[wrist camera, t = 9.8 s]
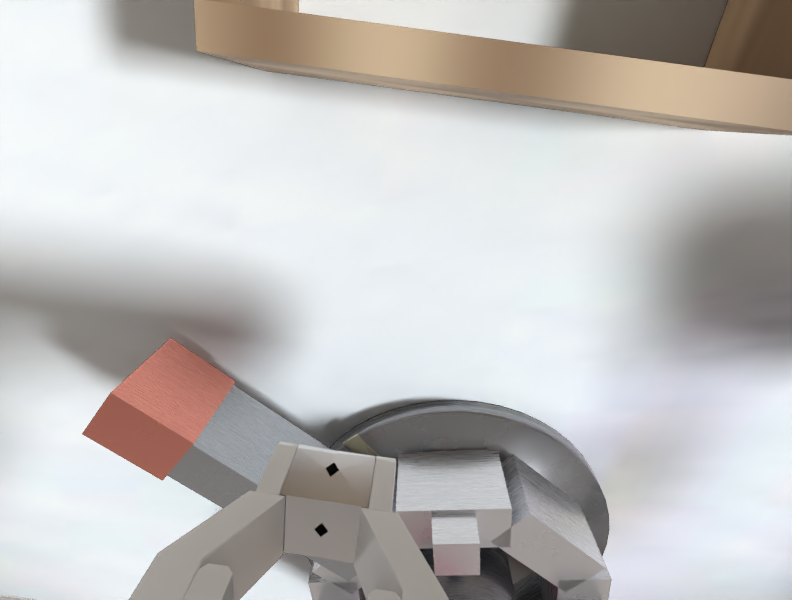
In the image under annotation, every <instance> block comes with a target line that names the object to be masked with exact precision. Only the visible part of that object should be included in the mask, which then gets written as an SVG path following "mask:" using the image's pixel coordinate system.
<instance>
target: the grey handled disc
mask: <svg viewBox="0 0 792 600" xmlns="http://www.w3.org/2000/svg"><path fill="white" fill-rule="evenodd" d="M235 382H236V381H234V380H233V379H231V378H230V377H228V376H227V375H225V374H224V373H222V372H221V371H219V370H218V369H216V368H215V367H213V366H212V365H210V364H209V363H208V362H206V361H205V360H203V359H202V358H200V357H199V356H197V355H196V354H194V353H193V352H191V351H190V350H188V349H187V348H185V347H184V346H182V345H181V344H179V343H178V342H176V341H175V340H173V339H172V338H170V339H169V340H168V341H167V342H166V343H165V344H163V345H162V346H161V347H160V348H159V349H158V350H157V351H156V352H155V353H154V354H153V355H151V356H150V357H149V358H148V359H147V360H146V361H145V362H144V363H143V364H142V365H140V366H139V367H138V368H137V369H136V370H135V371H134V372H133V373H132V374H131V375H130V376H128V377H127V378H126V379H125V380H124V381H123V382H122V383H121V384H120V385H119V386H117V387H116V388H115V389H114V390H113V391H112V392H111V393H110V394H109V396H108V397H107V399H106V400H105V402H104V403H103V404H102V406H101V407H100V409H99V410H98V412H97V413H96V415H95V416H94V417H93V419H92V420H91V422H90V423H89V425H88V426H87V428H86V429H85V430H84V432H83V433H82V434H83V435H85V436H86V437H88V438H90V439H92V440H93V441H95V442H97V443H99V444H100V445H102V446H104V447H105V448H107V449H109V450H111V451H112V452H114V453H116V454H117V455H119V456H121V457H123V458H124V459H126V460H128V461H130V462H131V463H133V464H135V465H136V466H138V467H140V468H142V469H143V470H145V471H147V472H149V473H150V474H152V475H154V476H155V477H157V478H159V479H161V480H163V479H164V478H165V477H166V476H169V477H171V478H172V479H174V480H176V481H178V482H179V483H181V484H183V485H184V486H186V487H188V488H190V489H191V490H193V491H195V492H196V493H198V494H200V495H202V496H203V497H205V498H207V499H208V500H210V501H212V502H213V503H215V504H217V505H219V506H220V507H222V508H225V507H226V506H228V505H229V504H231V503H232V502H234V501H235V500H236V499H238V498H239V497H241V496H242V495H244V494H245V493H247V492H248V491H256V489H257V487H258V485H259V483H260V480H261V478H262V476H263V474H264V472H265V470H266V467H267V465H268V463H269V461H270V459H271V456H272V454H273V452H274V450H275V448H276V446H277V444H278V443H279V442H280V441H282V442H287V443H293V444H298V445H300V444H301V445H307V446H313V447H318V448H324V449H330V448H328V447H327V446H325V445H323V444H322V443H320V442H319V441H317V440H316V439H314V438H313V437H311V436H310V435H308V434H307V433H305V432H304V431H302V430H301V429H299V428H298V427H296V426H295V425H293V424H292V423H290V422H289V421H287V420H286V419H284V418H283V417H281V416H280V415H278V414H277V413H275V412H274V411H272V410H271V409H269V408H268V407H266V406H265V405H263V404H262V403H260V402H259V401H257V400H256V399H254V398H253V397H251V396H250V395H248V394H247V393H245V392H244V391H242V390H241V389H239V388H238V387H236V386H235V385H234V383H235ZM330 450H331V449H330ZM373 474H374V473H373ZM372 481H373V480H372ZM371 488H372V487H371ZM392 512H394V513H398V514H399V516H400V518H401V519H402V521H403V523H404V524H405V526H406V528H407V529H408V531H409V533H410V534H411V536H412V538H413V539H414V541H415V543H416V544H417V546H418V548H419V549H427V548H433V557H434V572H435V576H447V575H480V548H488V547H499V548H500V549H502V550H503V551H505V552H506V553H508V554H509V555H511V556H512V557H514V558H515V559H517V560H518V561H520V562H521V563H523V564H524V565H526V566H527V567H529V568H530V569H531V570H533V572H532V573H530V574H529V575H527V576H525V577H524V578H522V579H521V580H519V581H518V582H516V583H515V584H513V587H514V592H515V597H516V600H608V597H609V591H610V585H611V577H610V575H609V572H608V570H607V567H606V565H605V563H604V560H603V558H602V555H601V553H600V551H599V548H598V546H597V544H596V541H595V539H594V536H593V534H592V532H591V529H590V527H589V524H588V522H587V520H586V517H585V515H584V514H583V512H582V509H581V507H580V505H579V503H578V502H576V501H575V500H574V499H572V498H571V497H570V496H569V495H567V494H566V493H565V492H563V491H562V490H561V489H559V488H558V487H557V486H555V485H554V484H553V483H551V482H550V481H549V480H547V479H546V478H545V477H543V476H542V475H541V474H539V473H538V472H537V471H535V470H534V469H533V468H531V467H530V466H529V465H527V464H526V463H525V462H523V461H522V460H521V459H519V458H518V457H517V456H515V455H514V454H512V455H511V456H510V457H508V458H507V459H506V460H505V461H503V462H502V463H501V462H500V457H499V453H498V449H490V450H459V451H429V452H399V458H398V467H397V466H396V472H395V484H394V495H393V507H392ZM304 556H306V555H304ZM306 557H308V558H309V559H311V560H313V565H312V569H311V574H310V578H309V582H308V583H309V587H310V591H311V595H312V600H366V598H365V595H364V592H363V589H362V587H361V584H360V581H359V578H358V576H357V573H356V570H355V568H354V564H353V563H348V562H343V561H337V560H332V559H326V558H321V557H314V556H306Z"/></svg>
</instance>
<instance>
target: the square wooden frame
mask: <svg viewBox="0 0 792 600" xmlns="http://www.w3.org/2000/svg"><path fill="white" fill-rule="evenodd" d="M298 11H299V0H194V14H195V32H196V51H198V52H201V53H205V54H209V55H212V56H216V57H219V58H223V59H226V60H230V61H233V62H237V63H240V64H244V65H247V66H251V67H254V68H258V69H261V70H265V71H270V72H277V73H285V74H292V75H300V76H307V77H315V78H322V79H330V80H337V81H345V82H352V83H359V84H367V85H374V86H382V87H389V88H397V89H404V90H412V91H419V92H427V93H434V94H442V95H449V96H456V97H464V98H471V99H479V100H486V101H494V102H501V103H509V104H516V105H524V106H531V107H539V108H546V109H554V110H561V111H568V112H576V113H583V114H591V115H598V116H606V117H613V118H621V119H628V120H636V121H643V122H651V123H658V124H665V125H673V126H680V127H688V128H695V129H703V130H710V131H725V132H742V133H760V134H777V135H792V0H728V2H727V5H726V8H725V11H724V14H723V16H722V19H721V22H720V25H719V27H718V30H717V33H716V36H715V38H714V41H713V44H712V47H711V50H710V52H709V55H708V58H707V61H706V63H705V66H704V67H696V66H689V65H681V64H674V63H667V62H659V61H652V60H645V59H637V58H630V57H622V56H615V55H608V54H600V53H593V52H585V51H578V50H571V49H563V48H556V47H548V46H541V45H534V44H526V43H519V42H511V41H504V40H497V39H489V38H482V37H474V36H467V35H460V34H452V33H445V32H437V31H430V30H423V29H415V28H408V27H401V26H393V25H386V24H378V23H371V22H364V21H356V20H349V19H341V18H334V17H327V16H319V15H312V14H304V13H298Z"/></svg>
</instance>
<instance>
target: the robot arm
mask: <svg viewBox="0 0 792 600" xmlns="http://www.w3.org/2000/svg"><path fill="white" fill-rule="evenodd" d="M375 459H376V460H375ZM395 472H396V459H395V458H388V457H380V456H372V455H365V454H358V453H350V452H343V451H335V450H330V449H324V448H318V447H313V446H307V445H301V444H300V445H298V444H293V443H287V442H282V441H280V442H279V443H278V444H277V446H276V448H275V450H274V452H273V454H272V456H271V459H270V461H269V463H268V465H267V467H266V470H265V472H264V474H263V476H262V478H261V480H260V483H259V485H258V487H257V489H256V491H248V492H247V493H245V494H244V495H242V496H241V497H239V498H238V499H236V500H235V501H234V502H232V503H231V504H229V505H228V506H226V507H225V508H223V509H222V510H220V511H219V512H217V513H216V514H214V515H213V516H212V517H210V518H209V519H207V520H206V521H204V522H203V523H201V524H200V525H198V526H197V527H195V528H194V529H192V530H191V531H190V532H188V533H187V534H185V535H184V536H182V537H181V538H179V539H178V540H176V541H175V542H173V543H172V544H170V545H169V546H168V547H166V548H165V549H163V550H162V551H160V552H159V553H157V555H156V557H155V558H154V560H153V562H152V563H151V565H150V566H149V568H148V570H147V571H146V573H145V574H144V576H143V578H142V579H141V581H140V582H139V584H138V586H137V587H136V589H135V590H134V592H133V594H132V595H131V597H130V598H129V600H240V599H241V598H242V597H243V595H244V594H245V593H246V592H247V591H248V590H249V589H250V588H251V587H252V586H253V585H254V584H255V583H256V582H257V581H258V580H259V579H260V578H261V577H262V576H263V575H264V574H265V573H266V572H267V571H268V570H269V569H270V568H271V567H272V566H273V565H274V564H275V563H276V562H277V561H278V560H279V559H280V558H281V557H282V555H283V553H289V554H297V555H306V556H314V557H321V558H326V559H332V560H337V561H343V562H348V563H353V564H354V568H355V570H356V573H357V576H358V578H359V581H360V584H361V587H362V589H363V592H364V595H365V598H366V600H449V598H448V597H447V595H446V593H445V592H444V590H443V588H442V587H441V585H440V583H439V581H438V580H437V578H436V576H435V575H434V573H433V571H432V570H431V568H430V566H429V565H428V563H427V561H426V560H425V558H424V556H423V555H422V553H421V551H420V550H419V548H418V546H417V544H416V543H415V541H414V539H413V538H412V536H411V534H410V533H409V531H408V529H407V528H406V526H405V524H404V523H403V521H402V519H401V518H400V516H399V514H398V513H394V512H392V507H393V495H394V484H395ZM373 473H374V474H373ZM372 480H373V481H372ZM371 487H372V488H371ZM0 600H34V599H28V598H21V597H15V596H8V595H2V594H0Z"/></svg>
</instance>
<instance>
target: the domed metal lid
mask: <svg viewBox="0 0 792 600" xmlns="http://www.w3.org/2000/svg"><path fill="white" fill-rule="evenodd" d="M330 449H331V450H335V451H343V452H350V453H358V454H365V455H372V456H380V457H388V458H395V459H396V466H397V467H398V458H399V452H429V451H459V450H490V449H498V453H499V457H500V462H501V463H502V462H503V461H505V460H506V459H507V458H508V457H510V456H511V455H512V454H514V455H515V456H517V457H518V458H519V459H521V460H522V461H523V462H525V463H526V464H527V465H529V466H530V467H531V468H533V469H534V470H535V471H537V472H538V473H539V474H541V475H542V476H543V477H545V478H546V479H547V480H549V481H550V482H551V483H553V484H554V485H555V486H557V487H558V488H559V489H561V490H562V491H563V492H565V493H566V494H567V495H569V496H570V497H571V498H572V499H574V500H575V501H576V502H578V503H579V505H580V507H581V509H582V512H583V514H584V515H585V517H586V520H587V522H588V524H589V527H590V529H591V532H592V534H593V536H594V539H595V541H596V544H597V546H598V548H599V551H600V553H601V555H602V556H603V553H604V550H605V547H606V545H607V540H608V534H609V513H608V509H607V504H606V500H605V497H604V495H603V493H602V490H601V488H600V486H599V484H598V482H597V480H596V478H595V476H594V473H593V471H592V469H591V468H590V466H589V465H588V463H587V462H586V460H585V459H584V457H583V455H582V454H581V453H580V452H579V451H578V450H577V449H576V448H575V447H574V446H573V444H572V443H571V442H570V441H568V440H567V439H566V438H565V437H563V436H562V435H561V434H560V433H558V432H557V431H556V430H554V429H553V428H551V427H549V426H548V425H546V424H544V423H543V422H541V421H539V420H537V419H535V418H533V417H530V416H528V415H526V414H523V413H521V412H518V411H515V410H512V409H508V408H505V407H502V406H497V405H492V404H486V403H481V402H471V401H457V400H456V401H433V402H426V403H419V404H412V405H409V406H405V407H401V408H397V409H393V410H390V411H388V412H385V413H383V414H380V415H377V416H375V417H372V418H371V419H369V420H367V421H365V422H363V423H361V424H359V425H357V426H356V427H354V428H353V429H352V430H350V431H349V432H347V433H346V434H345V435H343V436H342V437H341V438H339V439H338V440H337V441H336V442H335V443H334V444H333V445H332V446H331V447H330ZM375 460H376V459H375ZM419 550H420V551H421V553H422V555H423V556H424V558H425V560H426V561H427V563H428V565H429V566H430V568H431V570H432V571H433V573H434V575H435V572H434V557H433V548H427V549H419ZM308 559H309V558H308ZM309 561H310V563H311V564H312V565H313V560H311V559H309ZM532 572H533V570H531V569H530V568H529V567H527V566H526V565H524V564H523V563H521V562H520V561H518V560H517V559H515V558H514V557H512V556H511V555H509V554H508V553H506V552H505V551H503V550H502V549H500V548H499V547H488V548H480V575H447V576H436V578H437V580H438V581H439V583H440V585H441V587H442V588H443V590H444V592H445V593H446V595H447V597H448V598H449V600H516V597H515V592H514V587H513V584H515V583H516V582H518V581H519V580H521V579H522V578H524V577H525V576H527V575H529V574H530V573H532Z"/></svg>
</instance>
